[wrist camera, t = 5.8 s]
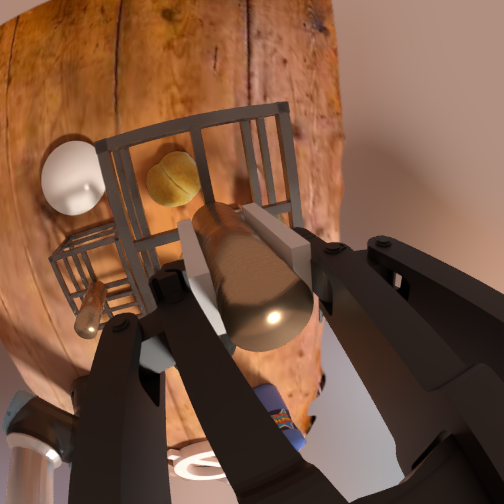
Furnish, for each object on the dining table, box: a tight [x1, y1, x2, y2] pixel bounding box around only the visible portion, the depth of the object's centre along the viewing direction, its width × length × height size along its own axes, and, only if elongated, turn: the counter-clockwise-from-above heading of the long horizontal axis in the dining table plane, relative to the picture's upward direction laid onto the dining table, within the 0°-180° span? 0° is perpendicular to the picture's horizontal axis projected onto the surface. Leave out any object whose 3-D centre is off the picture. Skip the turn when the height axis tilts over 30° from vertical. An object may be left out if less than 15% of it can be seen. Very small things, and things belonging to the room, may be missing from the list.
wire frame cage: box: [94, 101, 314, 352], centre depth 17 cm, size 12×14×19 cm
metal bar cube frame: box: [48, 221, 148, 339], centre depth 36 cm, size 12×14×19 cm
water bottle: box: [253, 384, 306, 457], centre depth 58 cm, size 9×9×25 cm
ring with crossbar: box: [167, 441, 226, 480], centre depth 76 cm, size 28×28×5 cm
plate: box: [41, 141, 105, 215], centre depth 36 cm, size 12×12×2 cm
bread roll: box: [146, 151, 201, 207], centre depth 41 cm, size 8×9×4 cm
